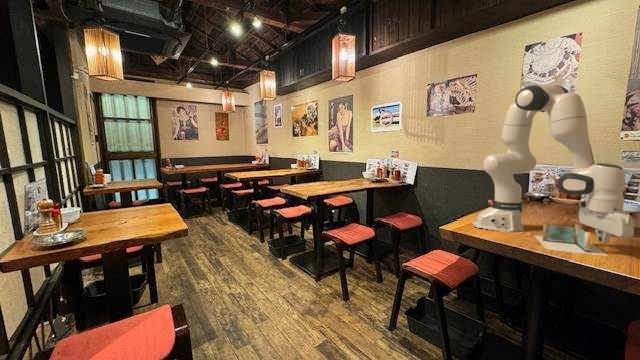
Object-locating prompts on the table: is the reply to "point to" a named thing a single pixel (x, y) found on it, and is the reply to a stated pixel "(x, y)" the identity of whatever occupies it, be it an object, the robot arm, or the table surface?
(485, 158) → the robot arm
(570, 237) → the fixed fence
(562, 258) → the table surface
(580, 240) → the hinged panel
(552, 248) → the card
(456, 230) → the table surface
